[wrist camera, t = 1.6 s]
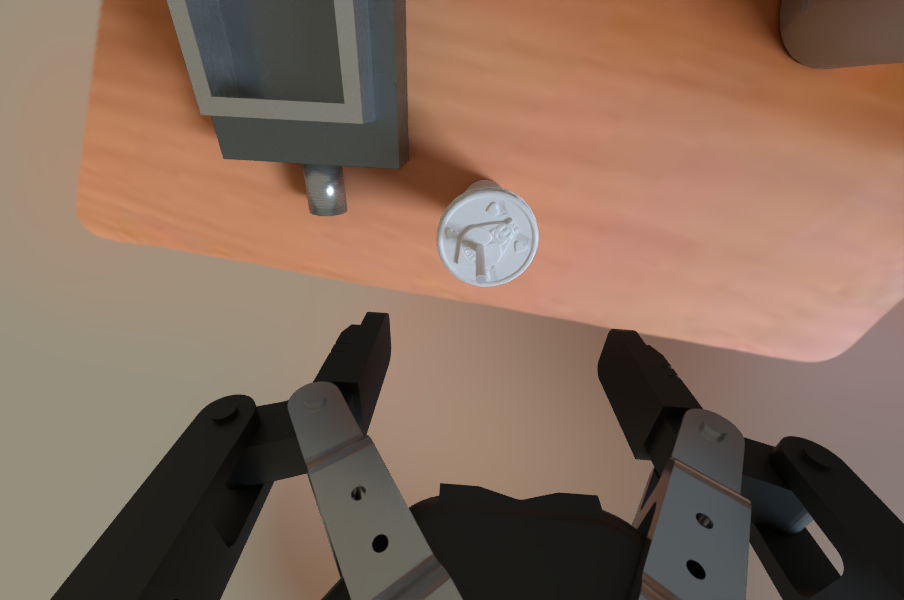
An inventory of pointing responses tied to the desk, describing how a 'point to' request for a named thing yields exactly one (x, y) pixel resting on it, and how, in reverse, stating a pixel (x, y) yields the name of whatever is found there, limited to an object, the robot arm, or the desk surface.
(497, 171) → the desk surface
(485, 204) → the smoothie
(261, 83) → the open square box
